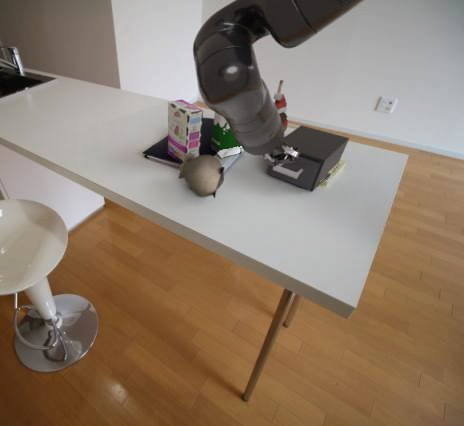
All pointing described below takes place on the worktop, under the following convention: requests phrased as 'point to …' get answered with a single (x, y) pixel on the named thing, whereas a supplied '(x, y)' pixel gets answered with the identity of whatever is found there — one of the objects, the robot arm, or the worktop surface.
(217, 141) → the milk carton
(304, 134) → the cabinet
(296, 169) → the drawer
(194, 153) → the candy bar box
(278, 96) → the cake
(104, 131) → the worktop surface
